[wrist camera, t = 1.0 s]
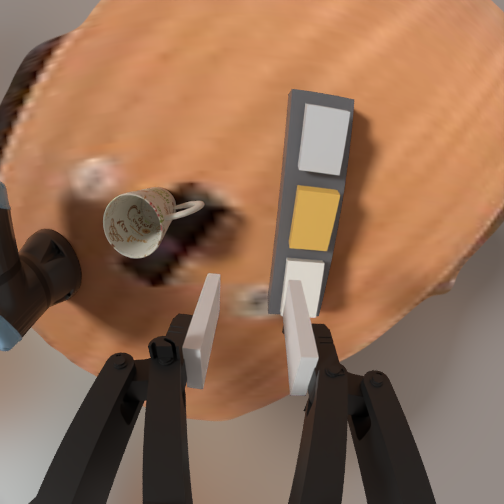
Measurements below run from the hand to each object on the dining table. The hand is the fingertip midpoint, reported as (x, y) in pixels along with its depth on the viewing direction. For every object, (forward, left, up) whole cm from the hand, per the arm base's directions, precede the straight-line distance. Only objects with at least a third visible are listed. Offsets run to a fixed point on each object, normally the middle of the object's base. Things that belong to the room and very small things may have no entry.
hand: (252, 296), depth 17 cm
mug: (-13, -1, -25) cm, 28 cm away
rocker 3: (+7, -10, -18) cm, 22 cm away
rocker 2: (+7, 0, -18) cm, 20 cm away
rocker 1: (+7, +10, -18) cm, 22 cm away
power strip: (+7, -3, -25) cm, 26 cm away
